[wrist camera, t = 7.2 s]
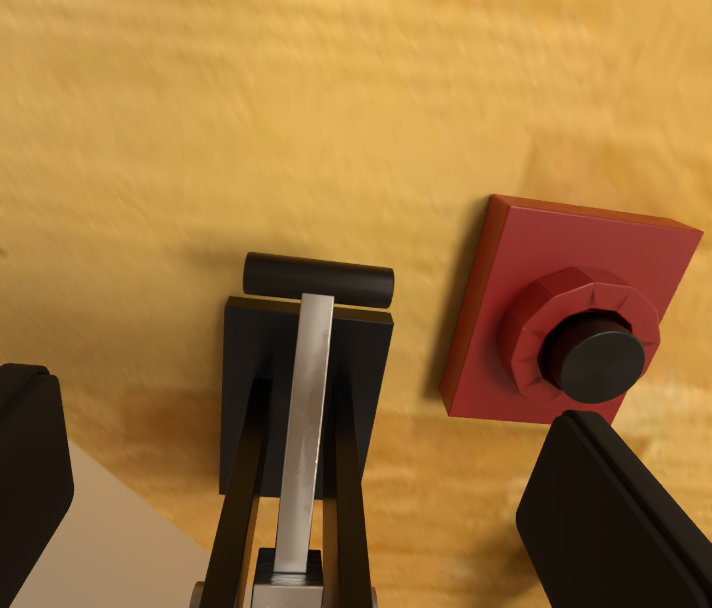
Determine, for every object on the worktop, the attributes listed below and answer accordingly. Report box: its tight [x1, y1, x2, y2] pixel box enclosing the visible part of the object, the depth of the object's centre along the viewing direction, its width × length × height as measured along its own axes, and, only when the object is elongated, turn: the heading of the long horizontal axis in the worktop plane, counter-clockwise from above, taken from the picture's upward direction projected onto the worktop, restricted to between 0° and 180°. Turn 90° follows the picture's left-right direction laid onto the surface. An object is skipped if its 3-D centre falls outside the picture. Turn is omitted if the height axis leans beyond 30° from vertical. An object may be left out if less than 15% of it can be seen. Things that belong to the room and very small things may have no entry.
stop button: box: [542, 312, 646, 404], centre depth 20 cm, size 4×4×2 cm
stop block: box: [439, 194, 704, 426], centre depth 22 cm, size 11×9×4 cm
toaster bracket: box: [189, 296, 394, 608], centre depth 19 cm, size 12×8×13 cm, turn 172°
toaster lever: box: [243, 252, 394, 608], centre depth 15 cm, size 13×5×2 cm, turn 171°
